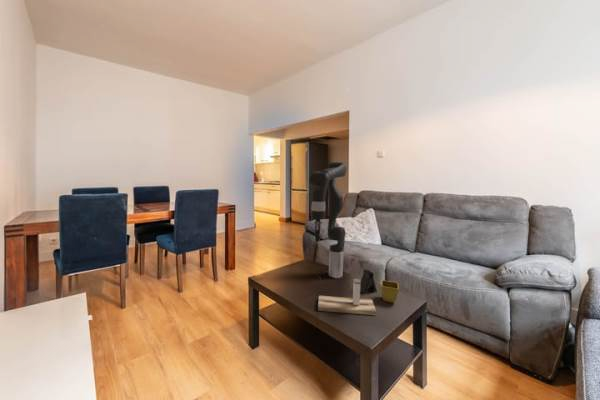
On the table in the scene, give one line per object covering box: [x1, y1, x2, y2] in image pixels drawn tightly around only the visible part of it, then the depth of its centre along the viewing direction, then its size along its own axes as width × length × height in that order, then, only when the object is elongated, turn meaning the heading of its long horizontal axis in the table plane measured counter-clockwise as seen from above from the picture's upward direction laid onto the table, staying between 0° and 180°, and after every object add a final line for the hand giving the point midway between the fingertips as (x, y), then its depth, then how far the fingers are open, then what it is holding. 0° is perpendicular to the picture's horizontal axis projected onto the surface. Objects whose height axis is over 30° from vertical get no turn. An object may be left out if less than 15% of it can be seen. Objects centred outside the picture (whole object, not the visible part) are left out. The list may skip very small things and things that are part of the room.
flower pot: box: [380, 280, 400, 304], centre depth 139 cm, size 9×9×9 cm
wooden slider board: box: [317, 295, 377, 316], centre depth 131 cm, size 12×28×2 cm, turn 84°
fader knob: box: [352, 278, 361, 305], centre depth 130 cm, size 4×3×12 cm
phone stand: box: [360, 268, 378, 295], centre depth 150 cm, size 9×6×12 cm, turn 108°
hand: (317, 241), depth 139 cm, fingers closed
